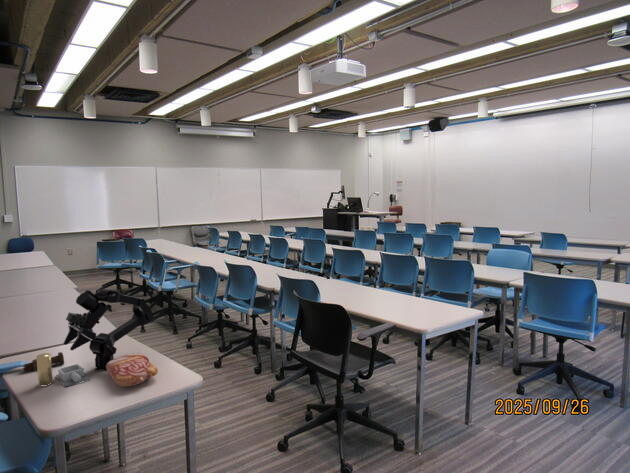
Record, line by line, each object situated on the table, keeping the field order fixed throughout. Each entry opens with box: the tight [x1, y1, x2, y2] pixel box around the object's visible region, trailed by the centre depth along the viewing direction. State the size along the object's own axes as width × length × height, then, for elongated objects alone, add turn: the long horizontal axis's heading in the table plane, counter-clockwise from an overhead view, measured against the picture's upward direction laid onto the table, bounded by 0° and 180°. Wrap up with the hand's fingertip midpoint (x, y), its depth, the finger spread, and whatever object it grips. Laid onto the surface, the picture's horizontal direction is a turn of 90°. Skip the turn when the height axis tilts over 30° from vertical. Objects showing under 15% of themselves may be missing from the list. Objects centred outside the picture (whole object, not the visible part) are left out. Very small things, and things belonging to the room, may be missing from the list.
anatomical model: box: [106, 353, 159, 387], centre depth 177 cm, size 17×7×30 cm
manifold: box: [55, 363, 91, 388], centre depth 177 cm, size 9×14×4 cm, turn 44°
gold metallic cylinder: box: [35, 352, 54, 387], centre depth 172 cm, size 5×5×12 cm
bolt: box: [22, 351, 65, 372], centre depth 189 cm, size 6×5×15 cm
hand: (67, 347), depth 176 cm, fingers open, 9 cm apart
